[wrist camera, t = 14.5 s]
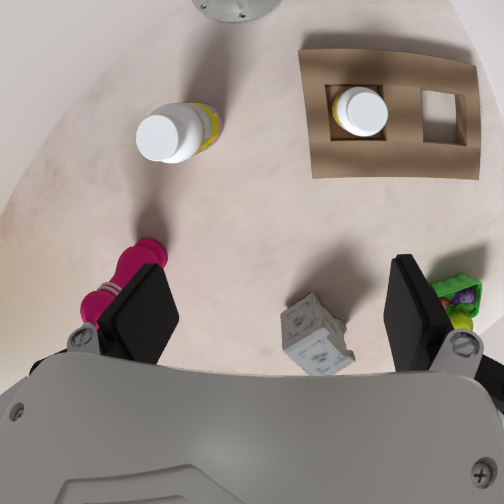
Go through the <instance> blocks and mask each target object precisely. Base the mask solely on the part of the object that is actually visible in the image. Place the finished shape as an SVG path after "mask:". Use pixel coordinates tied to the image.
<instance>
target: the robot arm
mask: <svg viewBox="0 0 504 504" xmlns="http://www.w3.org/2000/svg"><path fill="white" fill-rule="evenodd" d="M192 1H193V3H194V5H195V7H196V8H197V9H198V10H199V11H200V12H202V13H203V14H204V15H206V16H207V17H209V18H211V19H214V20H217V21H220V22H227V23H240V22H247V21H250V20H254V19H257V18H259V17H262V16H264V15H266V14H267V13H269V12H270V11H272V10H273V9H274V8H275V7H276V6H277V5H278V4H279V3H280V2H281V0H192ZM205 7H206V8H205ZM204 8H205V9H204ZM242 16H245V17H244V18H242ZM96 322H97V324H98V326H99V328H98V329H96V328H95V327H94V326H83V327H80V328H79V329H77V330H75V331H74V332H73V333H72V334H71V335H70V337H69V338H68V342H67V349H65V350H62V351H60V352H58V353H55V354H53V355H51V356H49V357H46V358H44V359H42V360H39V361H37V362H35V363H34V365H33V366H32V368H31V370H30V373H29V377H27V376H26V377H24V378H23V379H22V380H20V381H19V382H18V383H16V384H15V385H13V386H12V387H11V388H9V389H8V390H7V391H5V392H4V393H3V394H1V395H0V504H504V365H502V364H501V363H498V362H497V361H495V360H493V359H491V358H489V357H487V356H485V355H483V350H484V346H483V342H482V340H481V338H480V337H479V336H478V335H477V334H476V333H474V332H472V331H471V330H467V329H454V327H453V325H452V323H451V321H450V319H449V317H448V314H447V312H446V311H445V309H444V307H443V305H442V303H441V301H440V299H439V297H438V295H437V293H436V291H435V290H434V288H433V287H432V286H429V284H428V282H427V280H426V278H425V277H424V275H423V273H422V271H421V270H420V268H419V266H418V264H417V263H416V261H415V259H414V258H413V256H412V255H411V254H398V255H397V256H396V258H393V259H392V262H391V269H390V277H389V284H388V290H387V297H386V303H385V308H384V324H385V328H386V331H387V335H388V339H389V343H390V348H391V352H392V356H393V360H394V365H395V370H396V372H387V373H372V374H354V375H326V376H282V375H254V374H237V373H224V372H212V371H202V370H193V369H184V368H176V367H168V366H161V365H156V364H157V362H158V360H159V358H160V356H161V354H162V352H163V351H164V348H165V347H166V345H167V343H168V341H169V339H170V337H171V335H172V333H173V332H174V330H175V328H176V326H177V324H178V322H179V314H178V311H177V308H176V305H175V302H174V299H173V297H172V294H171V291H170V288H169V285H168V282H167V279H166V276H165V272H164V269H163V267H162V266H160V265H159V264H158V263H145V264H144V265H143V266H142V267H141V268H140V269H139V270H138V271H137V273H136V274H135V275H134V276H133V277H132V278H131V279H130V281H129V282H128V283H127V284H126V285H125V286H124V288H123V289H122V290H121V291H120V292H119V294H118V295H117V296H116V297H115V298H114V300H113V301H112V302H111V303H110V304H109V306H108V307H107V308H106V309H105V311H104V312H103V313H102V314H101V315H100V317H99V318H98V319H97V320H96Z"/></svg>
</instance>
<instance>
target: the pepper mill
mask: <svg viewBox="0 0 504 504" xmlns="http://www.w3.org/2000/svg"><path fill="white" fill-rule="evenodd" d="M145 263H158V264H159V265H160V266H162V267H163V268H164V267H165V266H166V263H167V254H166V251H165V249H164V248H163V246H162V245H161V244H160V243H159V242H157V241H155V240H153V239H150V238H145V239H141V240H140V241H139V242H138V243H137V244H135V245H134V246H132V247H129V248H127V249H126V250H125V251H124V252H123V253H122V254H121V256H120V258H119V260H118V263H117V267H116V272H115V274H114V276H113V277H112V279H111V280H110V281H109V282H105V283H103V284H102V285H101V286H100V287H99V288H98V289H97V291H93V292H91V293H89V294H88V295H87V296H85V298H84V299H83V301H82V303H81V308H80V313H81V317H82V320H83V322H84V324H83V325H82V327H83V326H94V327H95V328H96V329H98V328H99V326H98V324H97V322H96V320H97V319H98V318H99V317H100V315H101V314H102V313H103V312H104V311H105V309H106V308H107V307H108V306H109V304H110V303H111V302H112V301H113V300H114V298H115V297H116V296H117V295H118V294H119V292H120V291H121V290H122V289H123V288H124V286H125V285H126V284H127V283H128V282H129V281H130V279H131V278H132V277H133V276H134V275H135V274H136V273H137V271H138V270H139V269H140V268H141V267H142V266H143V265H144V264H145Z"/></svg>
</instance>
